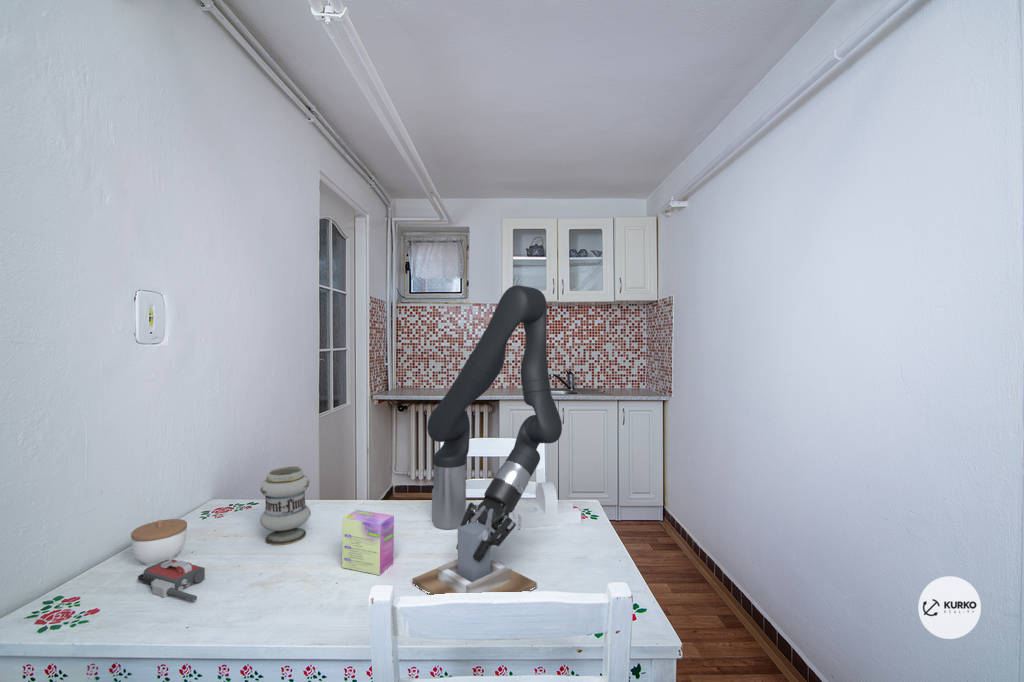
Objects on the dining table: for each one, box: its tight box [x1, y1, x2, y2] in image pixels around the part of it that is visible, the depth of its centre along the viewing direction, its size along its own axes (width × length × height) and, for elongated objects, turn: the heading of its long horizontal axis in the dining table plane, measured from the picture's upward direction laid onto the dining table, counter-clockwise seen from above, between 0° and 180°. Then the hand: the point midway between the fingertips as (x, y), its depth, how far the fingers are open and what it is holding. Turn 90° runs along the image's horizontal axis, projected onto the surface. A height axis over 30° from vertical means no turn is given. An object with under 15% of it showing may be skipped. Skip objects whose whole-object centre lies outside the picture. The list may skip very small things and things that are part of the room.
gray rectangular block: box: [457, 521, 491, 582], centre depth 100 cm, size 5×5×10 cm
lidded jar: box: [130, 518, 188, 567], centre depth 112 cm, size 11×11×9 cm
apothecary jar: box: [259, 465, 311, 546], centre depth 124 cm, size 12×12×18 cm
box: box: [341, 509, 395, 576], centre depth 109 cm, size 10×6×12 cm, turn 71°
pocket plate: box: [411, 558, 538, 596], centre depth 100 cm, size 20×18×4 cm
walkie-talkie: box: [137, 559, 206, 601], centre depth 100 cm, size 9×4×20 cm
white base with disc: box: [512, 481, 582, 529], centre depth 137 cm, size 18×10×11 cm, turn 103°
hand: (467, 555), depth 99 cm, fingers closed on gray rectangular block, 4 cm apart
